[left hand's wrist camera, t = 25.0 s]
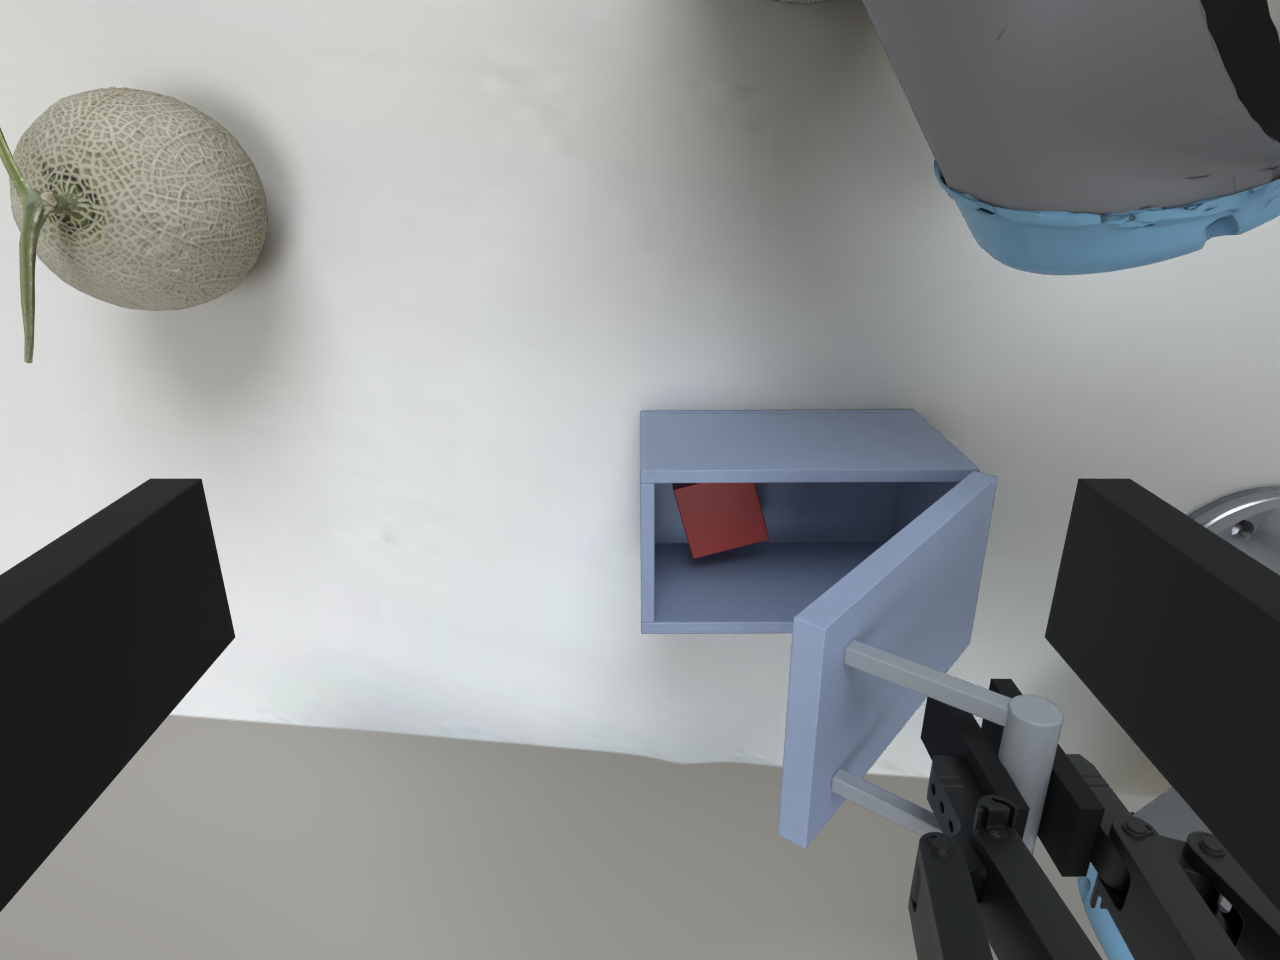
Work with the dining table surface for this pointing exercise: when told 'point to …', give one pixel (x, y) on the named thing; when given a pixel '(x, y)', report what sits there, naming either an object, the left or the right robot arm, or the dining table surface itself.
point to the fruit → (133, 202)
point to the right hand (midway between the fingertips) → (965, 709)
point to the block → (720, 516)
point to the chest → (780, 507)
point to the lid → (900, 672)
